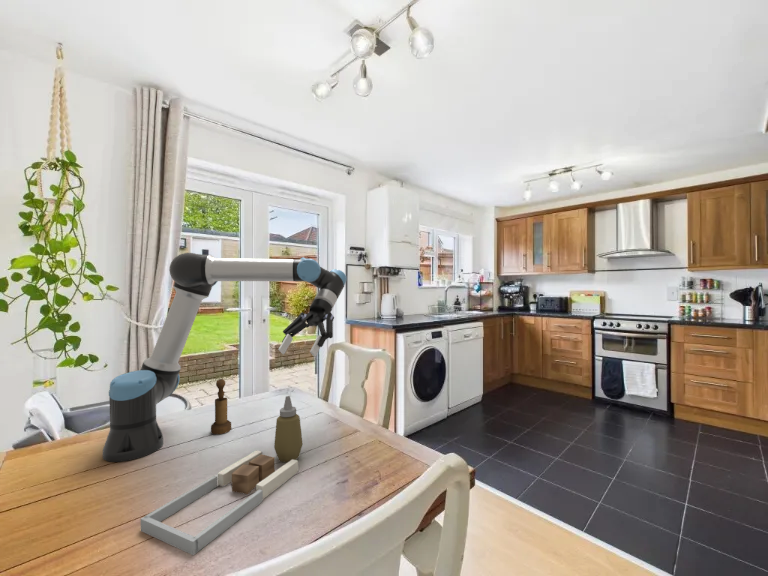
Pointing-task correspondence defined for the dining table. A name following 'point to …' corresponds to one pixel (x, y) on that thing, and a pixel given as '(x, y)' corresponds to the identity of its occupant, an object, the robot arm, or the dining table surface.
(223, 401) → the wooden pepper mill
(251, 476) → the brown cube block
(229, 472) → the slot rails
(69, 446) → the dining table surface
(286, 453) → the squeeze bottle
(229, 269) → the robot arm
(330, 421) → the dining table surface
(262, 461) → the brown cubic block
